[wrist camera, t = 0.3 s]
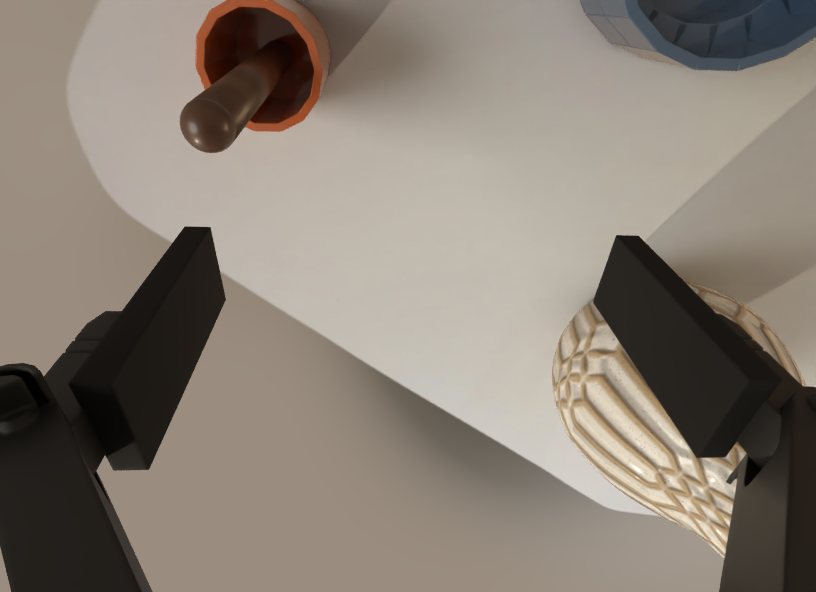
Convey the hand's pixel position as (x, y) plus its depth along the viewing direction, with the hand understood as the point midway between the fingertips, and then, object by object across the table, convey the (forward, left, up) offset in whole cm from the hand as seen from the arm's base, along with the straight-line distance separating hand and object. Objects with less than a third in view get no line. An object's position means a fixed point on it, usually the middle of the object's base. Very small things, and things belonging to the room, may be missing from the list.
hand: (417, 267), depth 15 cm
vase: (+17, +21, -18) cm, 32 cm away
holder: (-4, -6, -18) cm, 19 cm away
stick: (-4, -6, -17) cm, 19 cm away
